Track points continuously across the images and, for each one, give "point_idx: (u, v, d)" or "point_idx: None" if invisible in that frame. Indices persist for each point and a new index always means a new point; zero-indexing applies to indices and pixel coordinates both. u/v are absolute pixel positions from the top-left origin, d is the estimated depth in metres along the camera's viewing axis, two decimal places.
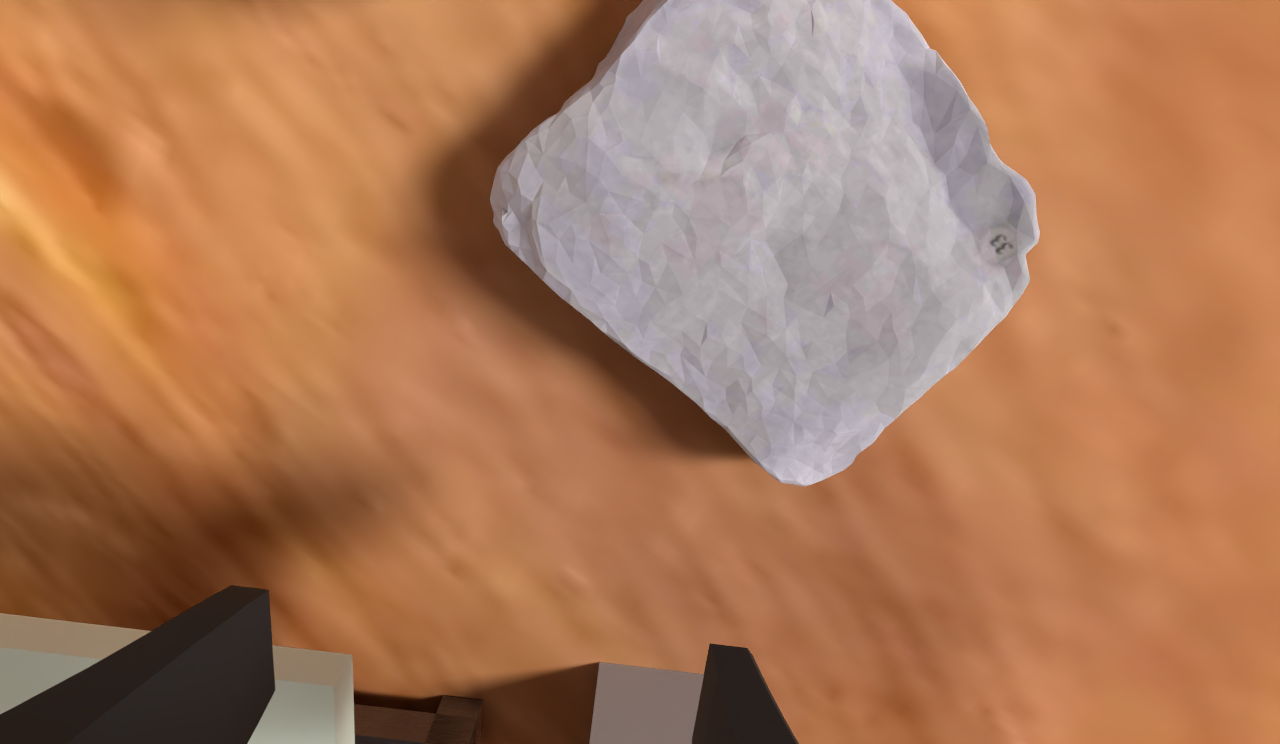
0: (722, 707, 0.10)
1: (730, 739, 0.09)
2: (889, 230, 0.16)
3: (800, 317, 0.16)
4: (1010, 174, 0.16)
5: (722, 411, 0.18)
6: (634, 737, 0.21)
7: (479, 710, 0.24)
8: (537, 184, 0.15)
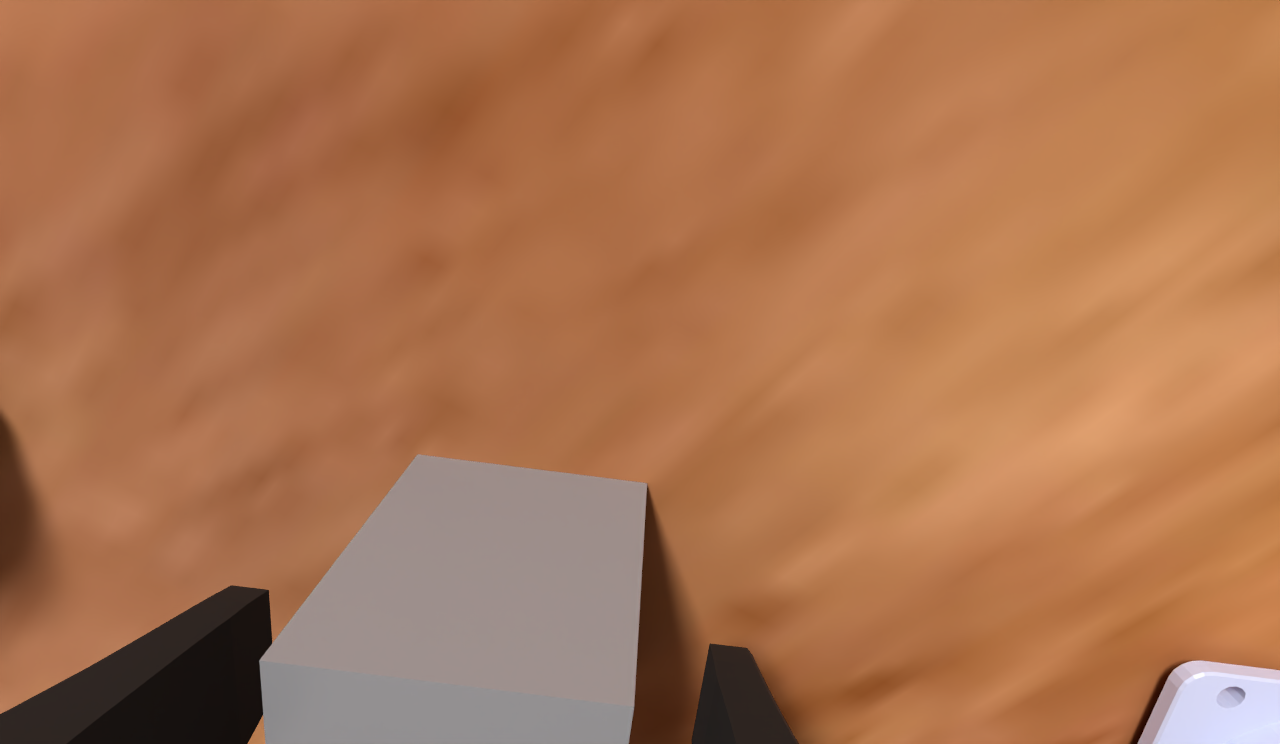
0: (722, 707, 0.10)
1: (730, 739, 0.09)
2: None
3: None
4: None
5: None
6: None
7: None
8: None
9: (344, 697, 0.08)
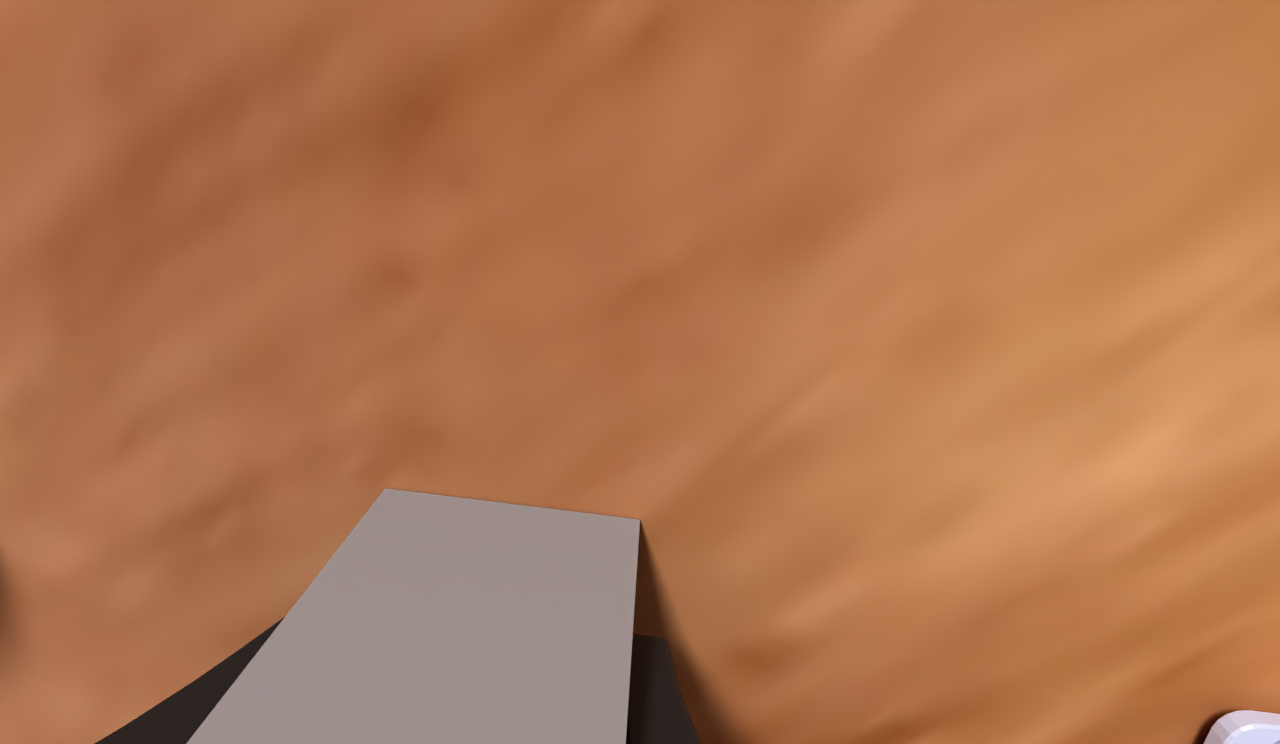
0: None
1: (627, 726, 0.09)
2: None
3: None
4: None
5: None
6: None
7: None
8: None
9: None
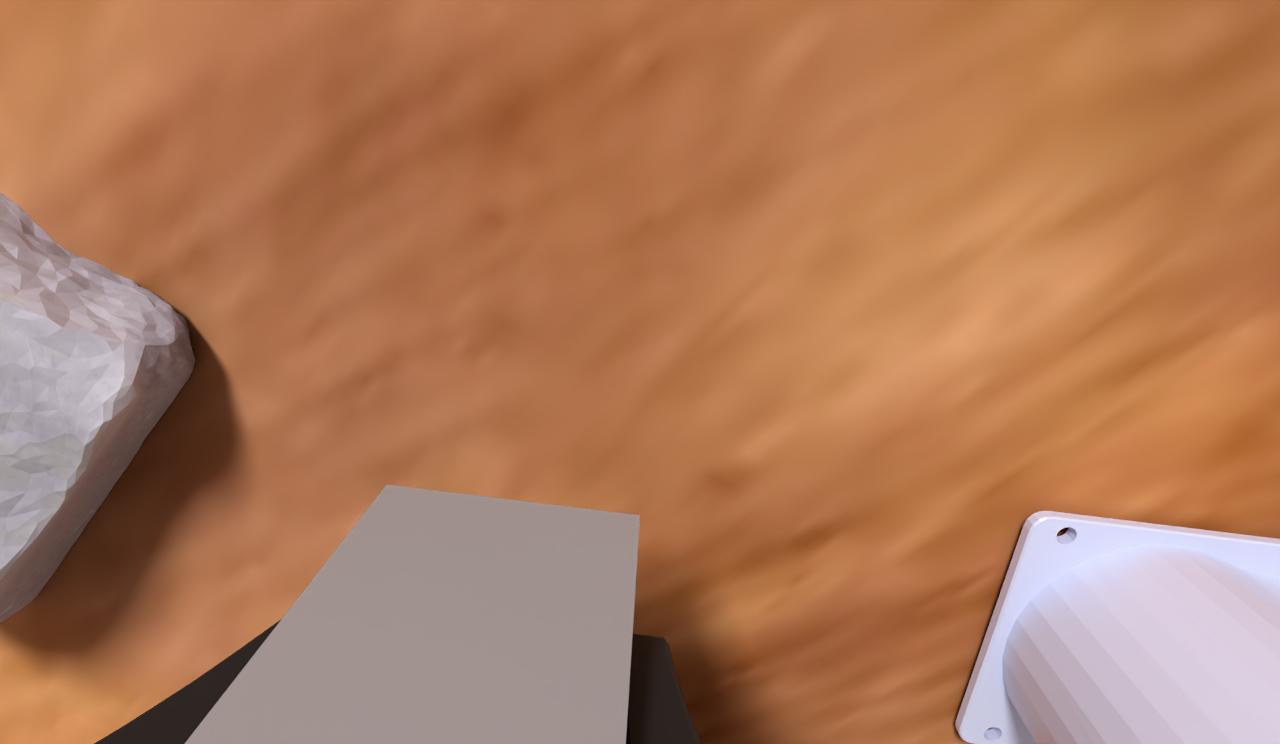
0: None
1: (627, 727, 0.09)
2: None
3: None
4: None
5: (58, 474, 0.17)
6: None
7: None
8: None
9: None
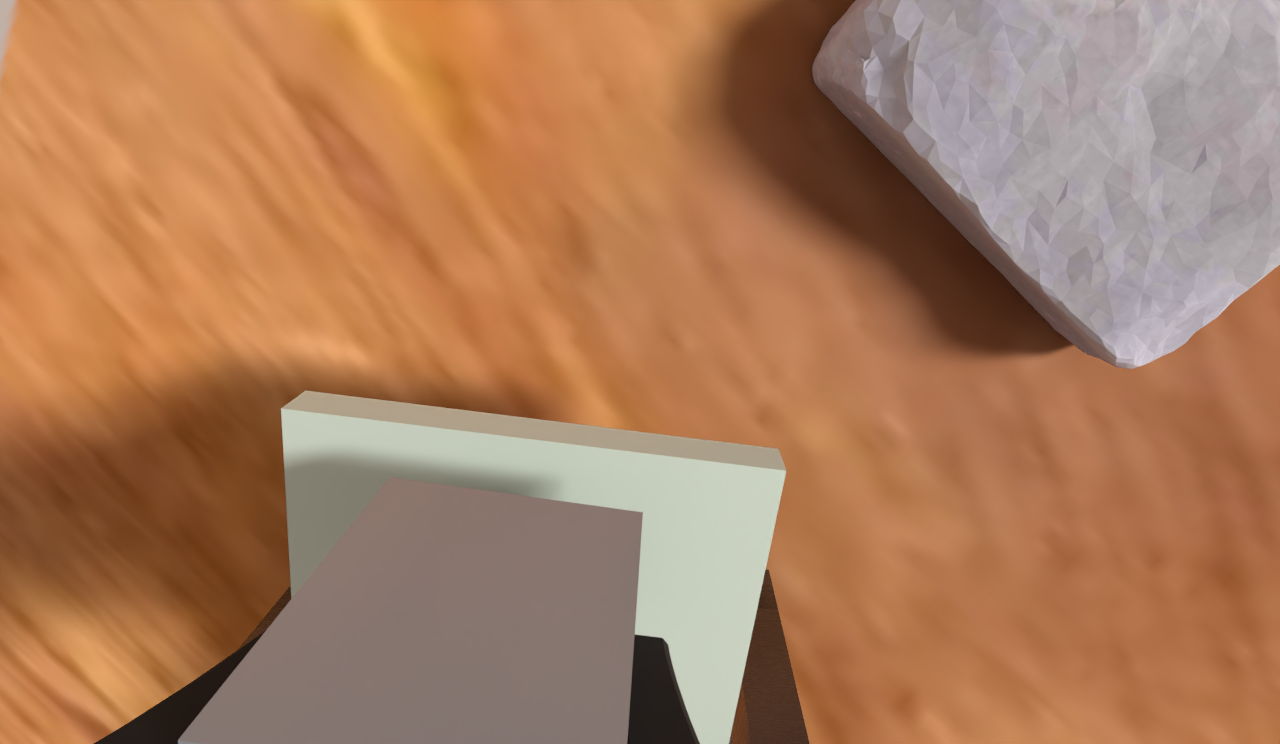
0: None
1: None
2: (1278, 73, 0.15)
3: (1167, 173, 0.15)
4: None
5: (1060, 284, 0.17)
6: None
7: (769, 579, 0.22)
8: (916, 21, 0.14)
9: None
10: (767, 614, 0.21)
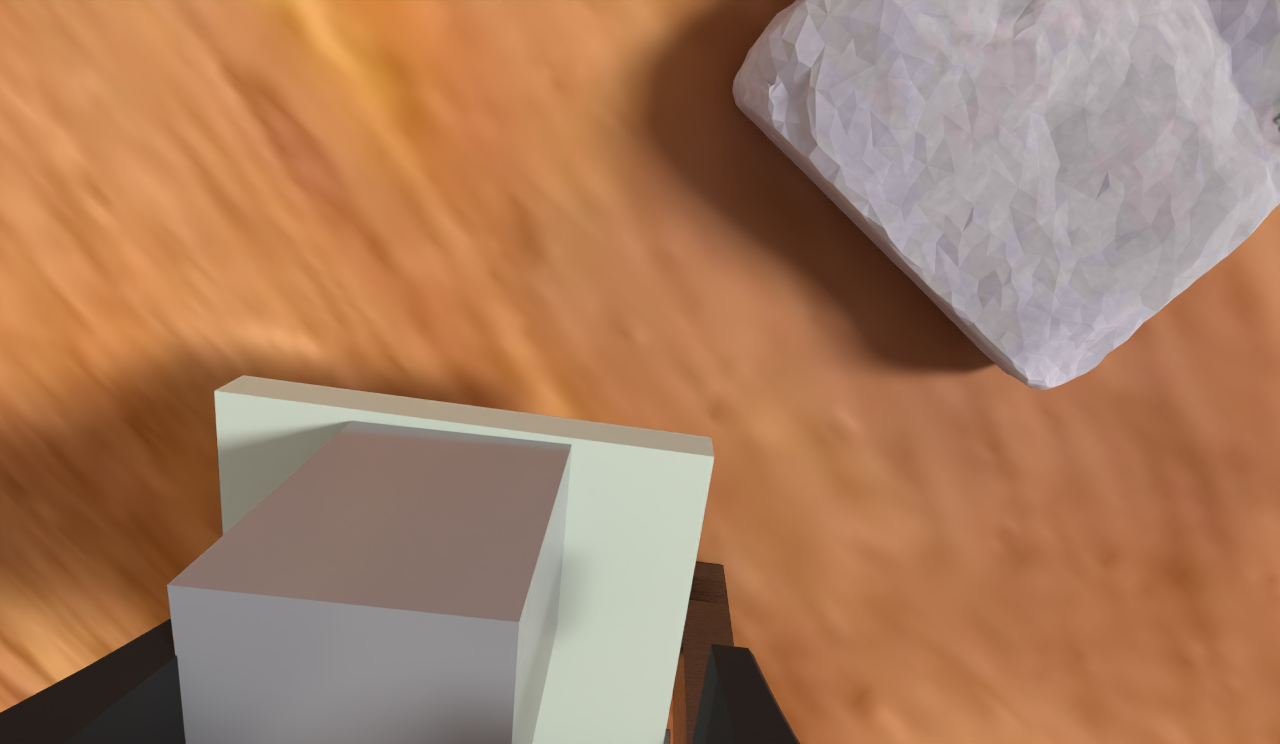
0: (723, 707, 0.10)
1: (731, 739, 0.09)
2: (1177, 103, 0.15)
3: (1071, 200, 0.16)
4: None
5: (971, 306, 0.17)
6: None
7: (723, 574, 0.22)
8: (817, 48, 0.14)
9: (248, 620, 0.09)
10: (717, 609, 0.21)
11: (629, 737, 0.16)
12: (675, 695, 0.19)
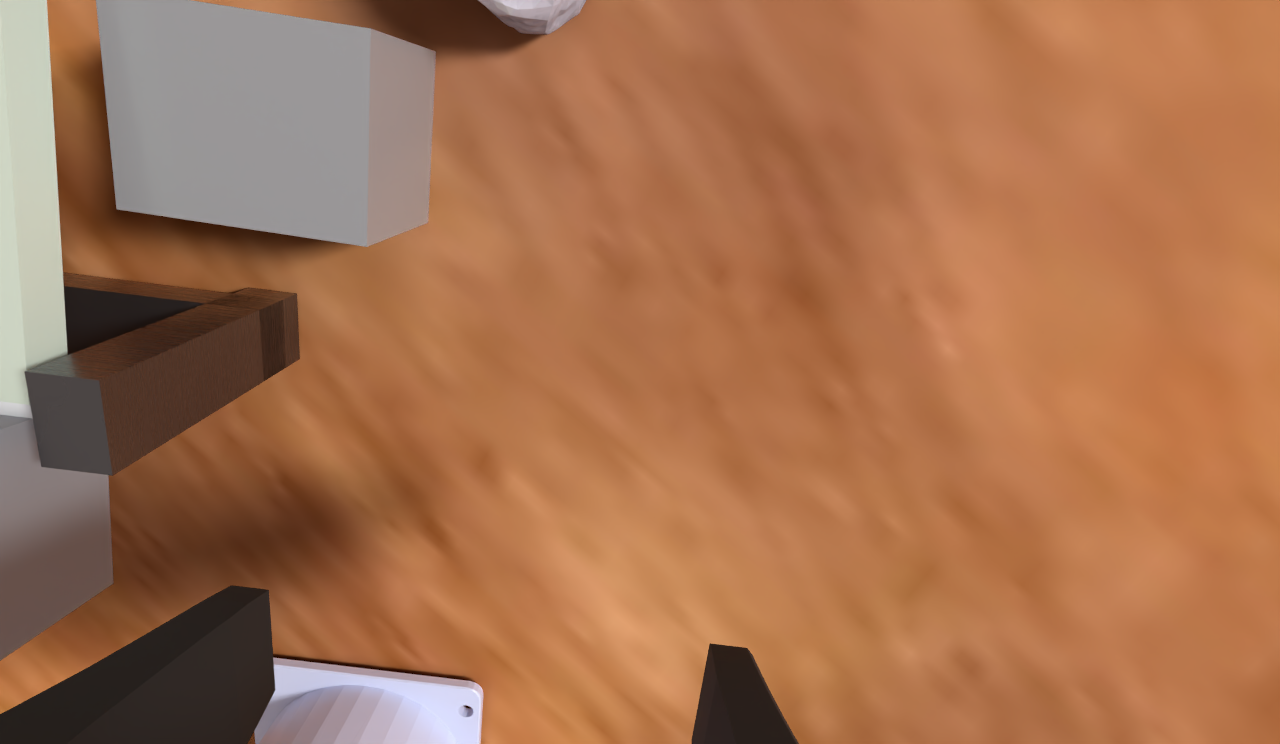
0: (722, 707, 0.10)
1: (730, 739, 0.09)
2: None
3: None
4: None
5: None
6: (250, 168, 0.15)
7: (289, 298, 0.20)
8: None
9: (388, 55, 0.15)
10: (239, 310, 0.18)
11: None
12: None
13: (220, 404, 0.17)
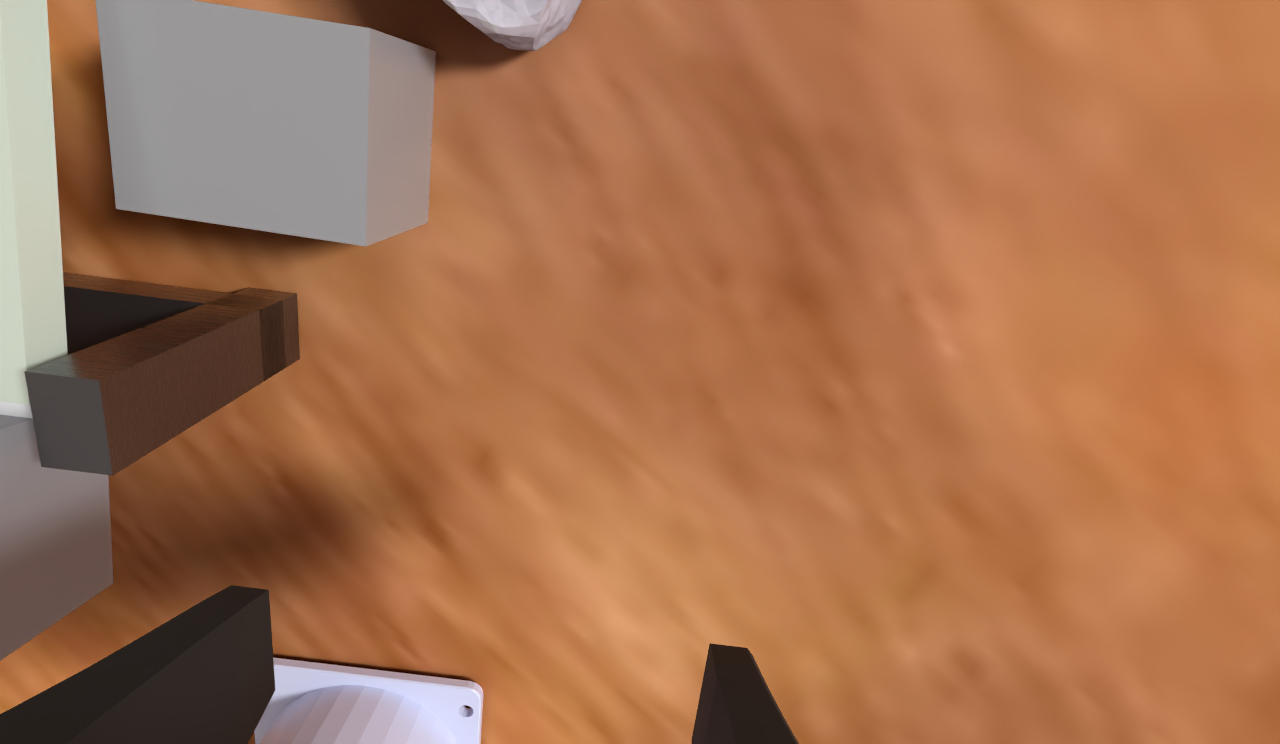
0: (722, 707, 0.10)
1: (730, 739, 0.09)
2: None
3: None
4: None
5: None
6: (249, 168, 0.15)
7: (289, 298, 0.20)
8: None
9: (387, 55, 0.15)
10: (239, 310, 0.18)
11: None
12: None
13: (220, 404, 0.17)
